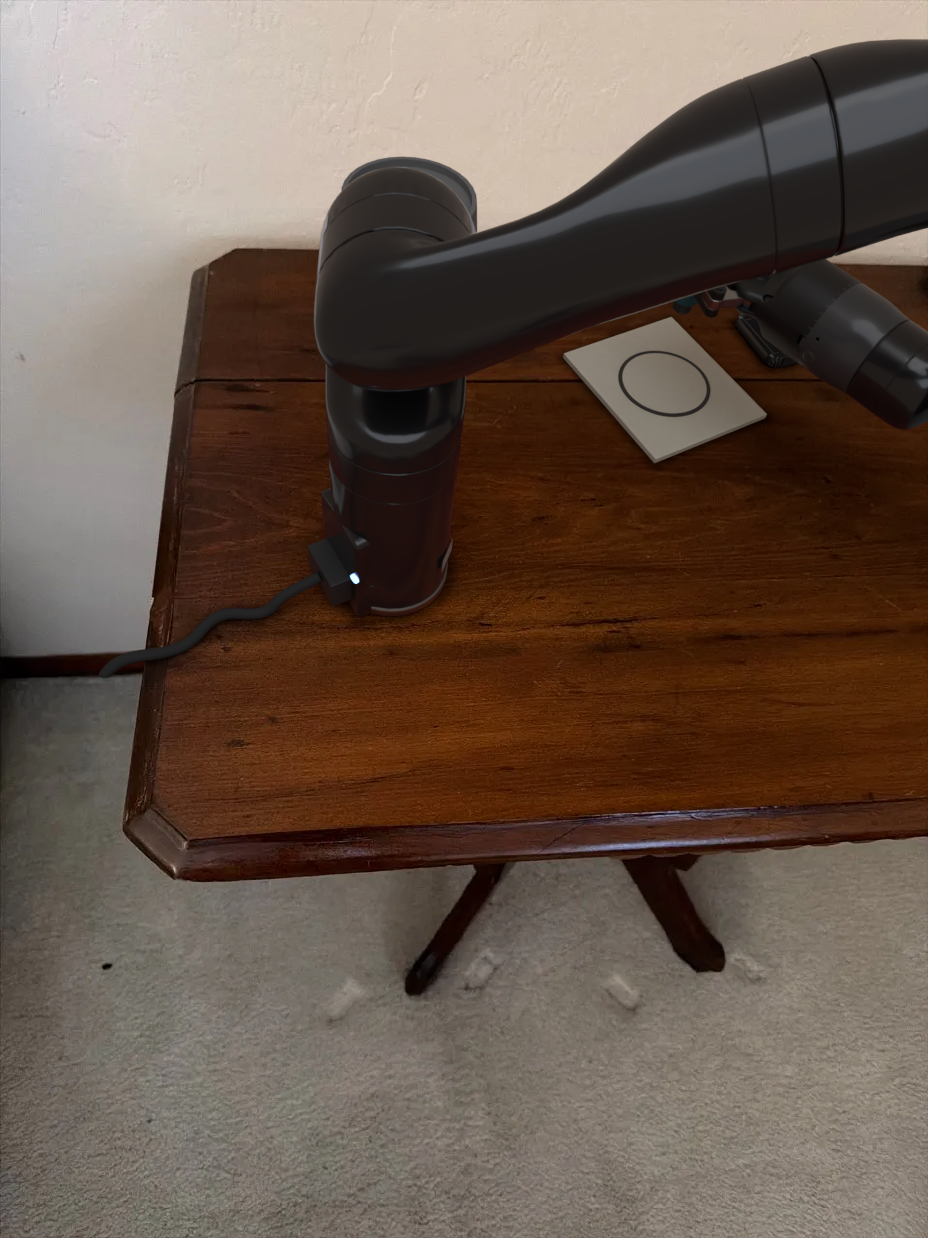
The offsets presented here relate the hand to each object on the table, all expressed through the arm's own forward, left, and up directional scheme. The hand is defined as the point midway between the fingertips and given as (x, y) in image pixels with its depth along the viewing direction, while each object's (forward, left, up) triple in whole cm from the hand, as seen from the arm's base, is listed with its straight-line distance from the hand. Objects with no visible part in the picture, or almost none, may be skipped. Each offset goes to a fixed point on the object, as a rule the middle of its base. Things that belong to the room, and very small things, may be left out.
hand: (681, 220), depth 79 cm
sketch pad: (-1, -5, -15) cm, 16 cm away
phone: (+19, -5, -15) cm, 25 cm away
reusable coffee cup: (-21, +13, -15) cm, 29 cm away
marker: (+1, -3, -7) cm, 8 cm away
